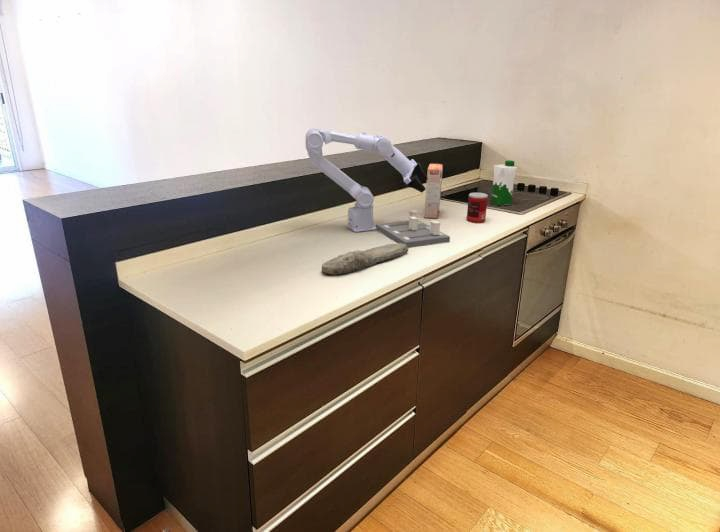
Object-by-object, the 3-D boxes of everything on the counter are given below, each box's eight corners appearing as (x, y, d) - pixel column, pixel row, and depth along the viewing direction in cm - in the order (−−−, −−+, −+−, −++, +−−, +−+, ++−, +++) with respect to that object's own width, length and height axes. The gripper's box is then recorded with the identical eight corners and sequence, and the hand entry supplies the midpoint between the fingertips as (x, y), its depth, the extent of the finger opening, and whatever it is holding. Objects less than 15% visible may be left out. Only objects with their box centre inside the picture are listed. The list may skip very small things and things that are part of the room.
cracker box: (438, 219, 207) (441, 169, 199) (423, 218, 208) (426, 168, 201) (440, 211, 220) (443, 163, 212) (426, 210, 221) (429, 163, 213)
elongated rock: (415, 258, 167) (394, 252, 174) (416, 243, 165) (394, 237, 172) (335, 279, 144) (314, 271, 151) (335, 261, 143) (314, 254, 150)
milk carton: (514, 205, 230) (520, 162, 223) (497, 207, 227) (502, 163, 220) (504, 201, 238) (509, 159, 230) (487, 202, 235) (492, 160, 228)
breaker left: (412, 223, 192) (413, 212, 190) (408, 221, 194) (409, 210, 193) (417, 223, 192) (418, 212, 191) (413, 221, 195) (414, 210, 194)
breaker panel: (405, 247, 172) (405, 242, 171) (376, 229, 192) (376, 224, 192) (449, 241, 179) (449, 236, 178) (416, 224, 199) (416, 219, 198)
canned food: (483, 218, 209) (486, 192, 205) (486, 223, 202) (489, 197, 198) (465, 217, 210) (467, 192, 206) (467, 222, 202) (469, 196, 198)
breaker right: (434, 235, 178) (435, 223, 176) (429, 232, 181) (430, 221, 179) (439, 234, 179) (440, 222, 177) (434, 232, 182) (435, 220, 180)
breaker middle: (412, 230, 183) (413, 219, 182) (408, 228, 186) (408, 216, 184) (417, 229, 184) (418, 218, 182) (413, 227, 187) (414, 216, 185)
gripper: (404, 165, 178) (430, 189, 182) (410, 146, 189) (434, 169, 193) (391, 176, 182) (416, 200, 186) (397, 157, 193) (421, 180, 197)
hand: (424, 185), depth 190 cm, fingers open, 7 cm apart
